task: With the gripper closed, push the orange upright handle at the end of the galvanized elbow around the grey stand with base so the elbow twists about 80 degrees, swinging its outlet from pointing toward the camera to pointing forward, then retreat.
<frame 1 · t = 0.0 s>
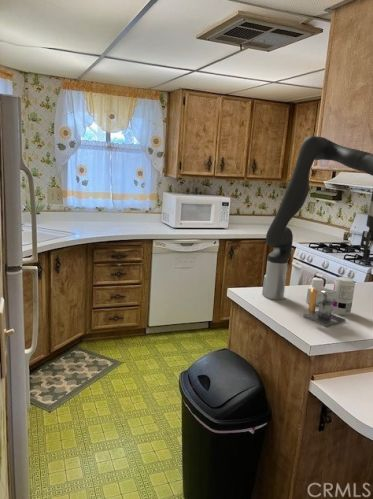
hand: (372, 258, 150), 29 cm above the counter, fingers open, 8 cm apart
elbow: (321, 299, 163), point 9 cm above the counter, hinge at 0.0°
grey stand with base: (324, 319, 167), on the counter
supplement can: (340, 312, 177), on the counter
medicine bottle: (315, 303, 187), on the counter
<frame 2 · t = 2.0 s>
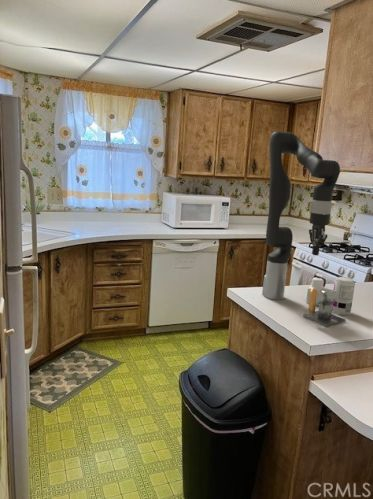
hand: (315, 254, 163), 26 cm above the counter, fingers closed
nothing on the counter moved.
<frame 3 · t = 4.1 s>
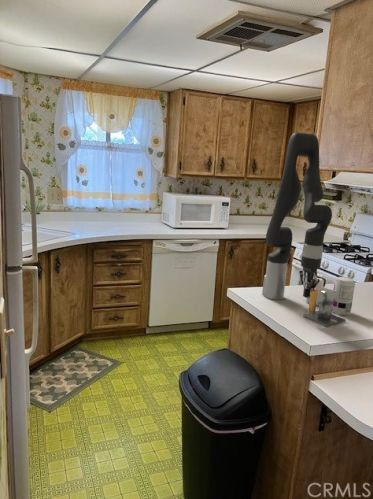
hand: (306, 297, 164), 10 cm above the counter, fingers closed
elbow: (321, 299, 163), point 9 cm above the counter, hinge at 0.7°, touching gripper
everything else where it was.
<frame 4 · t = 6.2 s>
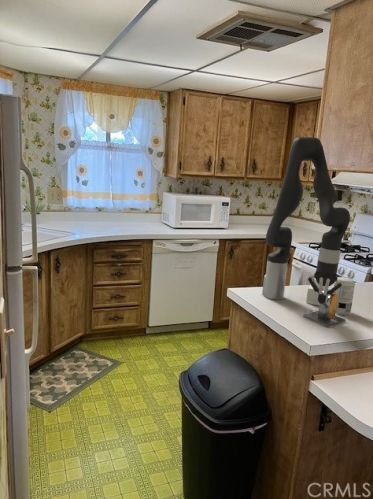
hand: (321, 303, 157), 10 cm above the counter, fingers closed
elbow: (329, 300, 162), point 9 cm above the counter, hinge at 50.3°, touching gripper
everything else where it was.
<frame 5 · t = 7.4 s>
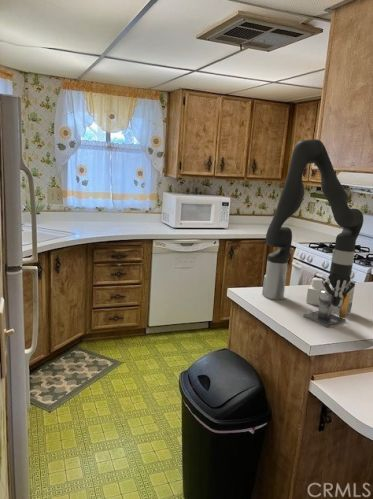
hand: (334, 305, 156), 10 cm above the counter, fingers closed
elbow: (333, 300, 162), point 9 cm above the counter, hinge at 81.6°, touching gripper
everything else where it was.
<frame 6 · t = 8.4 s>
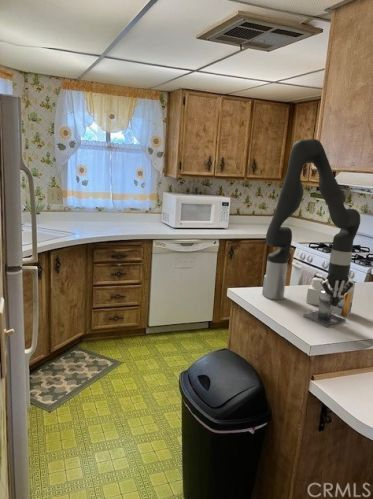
hand: (333, 305, 156), 9 cm above the counter, fingers closed
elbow: (334, 300, 162), point 9 cm above the counter, hinge at 88.2°
everything else where it was.
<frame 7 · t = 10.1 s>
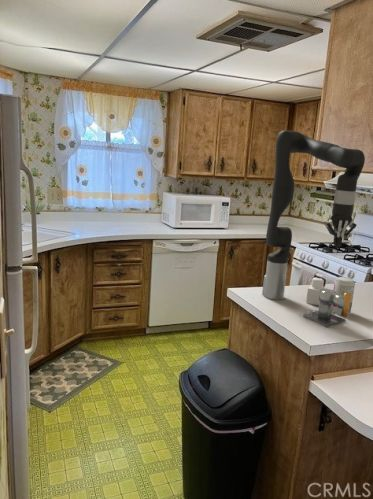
hand: (337, 246, 160), 31 cm above the counter, fingers closed
nothing on the counter moved.
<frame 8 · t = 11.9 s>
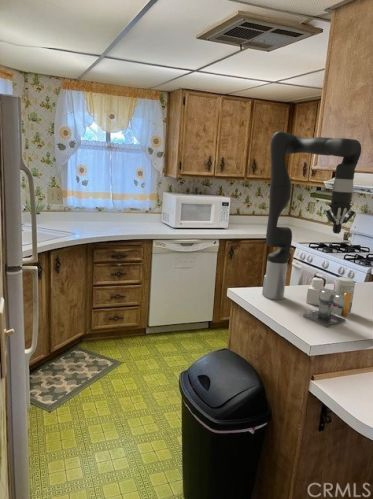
hand: (336, 233, 166), 35 cm above the counter, fingers closed
nothing on the counter moved.
at the end: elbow at +88° (first picture: +0°); the gripper is holding nothing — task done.
